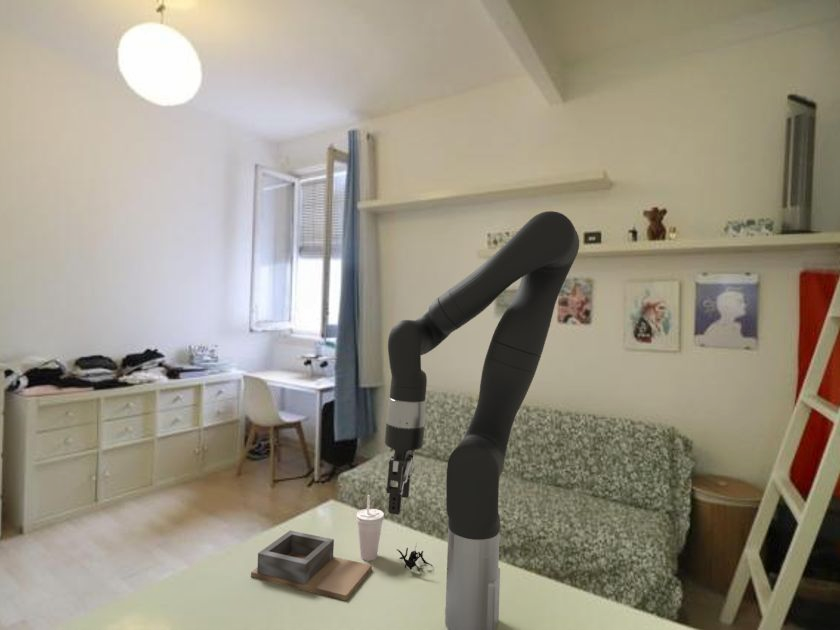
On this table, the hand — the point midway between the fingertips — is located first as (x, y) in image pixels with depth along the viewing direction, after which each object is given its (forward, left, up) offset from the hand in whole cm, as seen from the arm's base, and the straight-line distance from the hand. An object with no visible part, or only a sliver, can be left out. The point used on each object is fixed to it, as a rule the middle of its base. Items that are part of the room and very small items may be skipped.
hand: (398, 504), depth 90 cm
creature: (+1, -13, -19) cm, 23 cm away
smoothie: (+12, -13, -19) cm, 26 cm away
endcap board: (+20, -2, -18) cm, 27 cm away
